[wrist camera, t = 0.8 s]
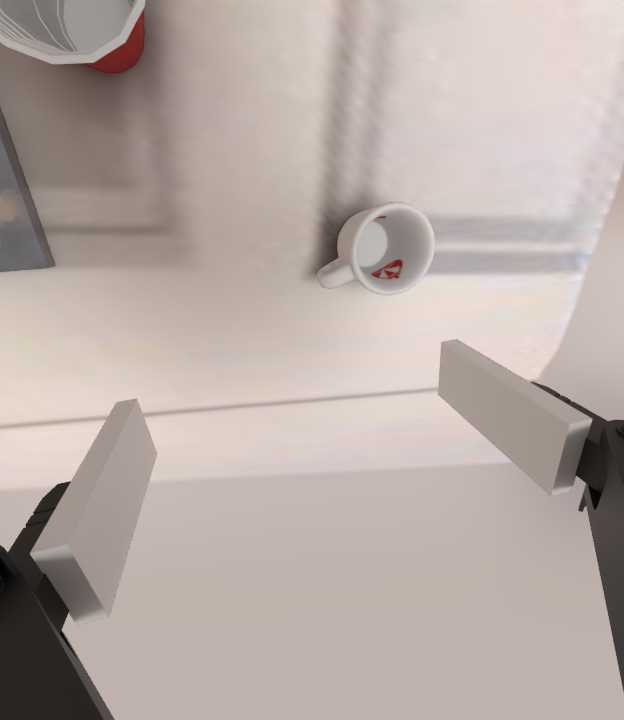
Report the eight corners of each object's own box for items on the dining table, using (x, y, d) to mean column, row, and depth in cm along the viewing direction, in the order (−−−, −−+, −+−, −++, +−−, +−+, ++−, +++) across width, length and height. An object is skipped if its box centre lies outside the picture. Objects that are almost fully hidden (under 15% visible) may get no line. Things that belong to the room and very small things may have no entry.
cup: (325, 305, 40) (346, 326, 33) (291, 241, 36) (307, 248, 29) (407, 258, 40) (446, 268, 32) (382, 188, 36) (419, 183, 29)
